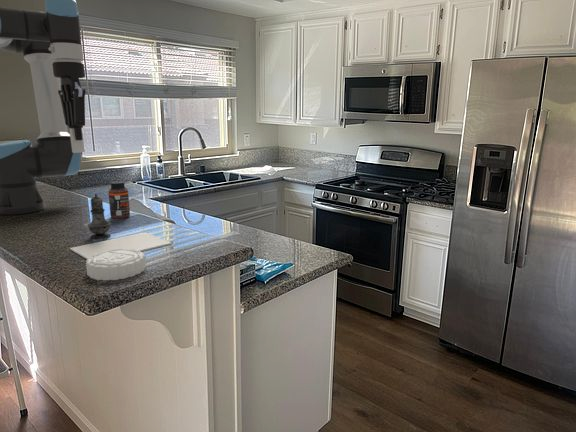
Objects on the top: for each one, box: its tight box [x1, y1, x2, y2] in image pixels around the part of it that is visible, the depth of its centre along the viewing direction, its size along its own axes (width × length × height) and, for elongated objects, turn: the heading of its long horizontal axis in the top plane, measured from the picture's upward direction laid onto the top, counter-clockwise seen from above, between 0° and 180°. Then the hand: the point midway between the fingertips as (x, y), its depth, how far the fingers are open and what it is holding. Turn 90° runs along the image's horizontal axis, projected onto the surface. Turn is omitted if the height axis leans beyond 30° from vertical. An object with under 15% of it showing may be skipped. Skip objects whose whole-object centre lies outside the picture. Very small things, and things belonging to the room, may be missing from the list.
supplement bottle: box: [108, 180, 131, 219], centre depth 142 cm, size 6×6×11 cm
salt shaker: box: [86, 193, 112, 241], centre depth 120 cm, size 6×6×12 cm
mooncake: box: [85, 249, 147, 281], centre depth 96 cm, size 12×12×4 cm
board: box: [69, 231, 172, 260], centre depth 112 cm, size 14×20×1 cm
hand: (78, 152), depth 122 cm, fingers closed
